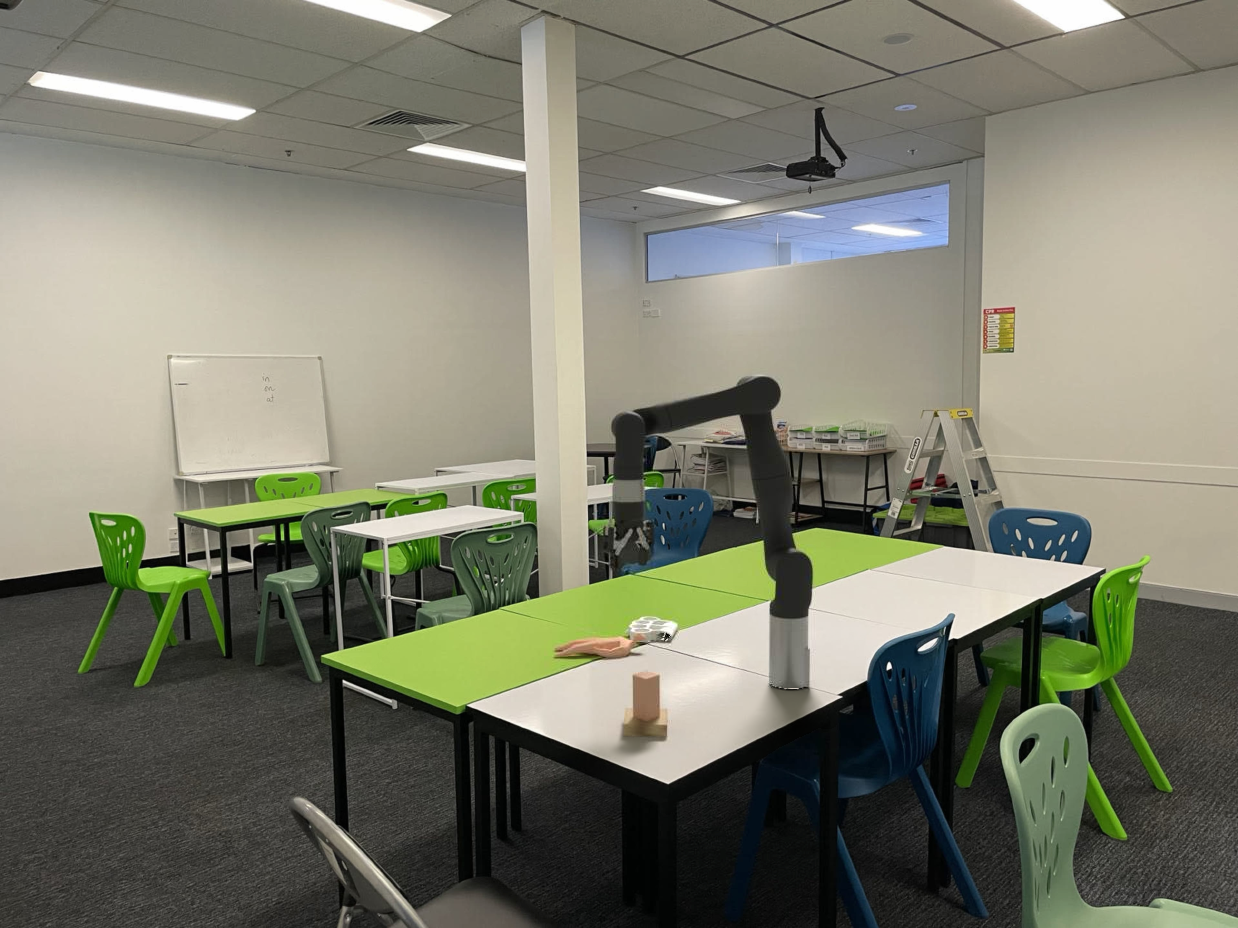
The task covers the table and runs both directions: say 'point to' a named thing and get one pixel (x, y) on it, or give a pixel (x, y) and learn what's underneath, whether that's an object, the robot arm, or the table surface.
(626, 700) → the table surface
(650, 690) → the block
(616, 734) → the table surface
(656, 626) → the white dimpled tray
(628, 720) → the base slab
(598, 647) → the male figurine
